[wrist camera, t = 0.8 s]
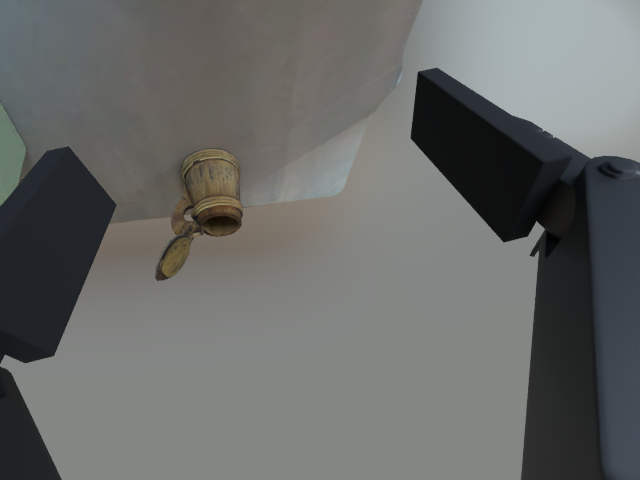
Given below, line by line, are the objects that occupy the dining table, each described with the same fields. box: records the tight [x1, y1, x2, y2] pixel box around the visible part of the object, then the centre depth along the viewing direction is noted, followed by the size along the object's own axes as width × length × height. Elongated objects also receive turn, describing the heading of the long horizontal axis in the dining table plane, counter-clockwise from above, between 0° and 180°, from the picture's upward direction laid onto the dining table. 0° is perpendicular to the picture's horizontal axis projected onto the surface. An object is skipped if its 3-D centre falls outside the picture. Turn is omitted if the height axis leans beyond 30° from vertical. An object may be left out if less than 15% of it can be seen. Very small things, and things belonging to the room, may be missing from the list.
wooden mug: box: [155, 149, 243, 281], centre depth 44 cm, size 9×14×18 cm, turn 81°
